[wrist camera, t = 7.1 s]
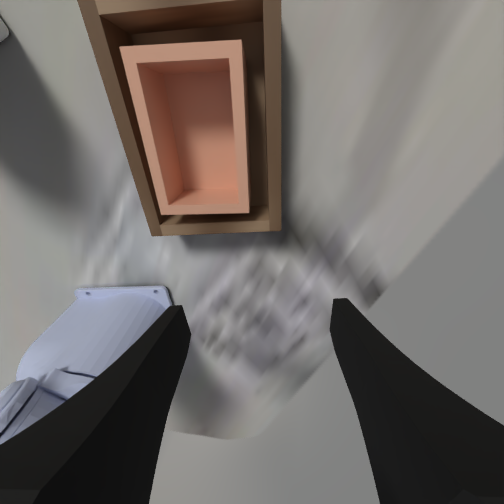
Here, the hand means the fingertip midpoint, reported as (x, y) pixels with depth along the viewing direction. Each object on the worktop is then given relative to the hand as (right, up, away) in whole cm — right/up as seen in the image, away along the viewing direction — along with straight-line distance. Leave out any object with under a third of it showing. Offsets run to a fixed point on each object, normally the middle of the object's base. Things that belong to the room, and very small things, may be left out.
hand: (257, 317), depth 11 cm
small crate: (-3, +11, +5) cm, 12 cm away
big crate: (-3, +11, +5) cm, 13 cm away
